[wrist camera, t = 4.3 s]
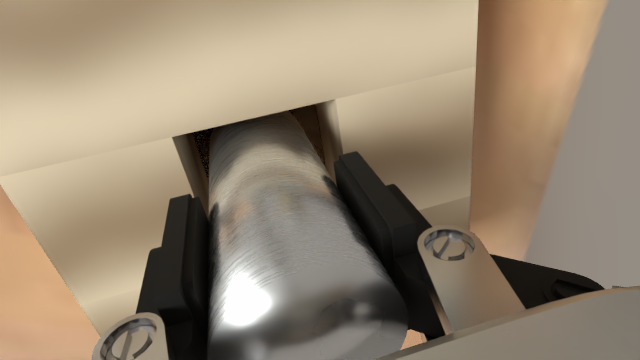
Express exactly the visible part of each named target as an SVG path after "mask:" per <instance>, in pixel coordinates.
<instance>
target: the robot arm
mask: <svg viewBox="0 0 640 360" xmlns="http://www.w3.org/2000/svg"><path fill="white" fill-rule="evenodd" d="M334 171H335V177H336V184H337V188H338V190H339V191H340V193H341V195H342V196H343V198H344V200H345V201H346V203H347V205H348V207H349V208H350V210H351V212H352V213H353V215H354V217H355V218H356V220H357V222H358V224H359V225H360V227H361V229H362V230H363V232H364V234H365V235H366V237H367V239H368V241H369V242H370V244H371V246H372V247H373V249H374V251H375V252H376V254H377V256H378V257H379V259H380V261H381V263H382V264H383V266H384V268H385V269H386V271H387V273H388V274H389V276H390V278H391V280H392V281H393V283H394V285H395V286H396V288H397V290H398V291H399V293H400V295H401V297H402V298H403V300H404V302H405V305H406V308H407V313H408V329H407V330H410V329H412V330H415V331H417V332H420V333H421V339H422V342H423V343H421V344H418V345H415V346H412V347H409V348H406V349H403V350H400V351H397V352H394V353H391V354H388V355H385V356H382V357H379V358H376V359H373V360H640V286H634V287H619V286H612V288H611V289H604V288H603V287H602V286H601V285H599V284H598V283H597V282H594V281H593V280H591V279H589V278H587V277H584V276H581V275H578V274H575V273H571V272H566V271H562V270H558V269H553V268H549V267H544V266H540V265H535V264H531V263H527V262H523V261H518V260H514V259H509V258H505V257H501V256H496V255H492V254H489V253H488V251H487V250H486V248H485V247H484V245H483V244H482V242H481V241H480V239H479V238H478V237H477V236H476V235H475V234H474V233H472V232H471V231H469V230H467V229H465V228H462V227H459V226H452V225H440V226H435V227H432V226H431V225H430V223H429V222H428V221H427V220H426V219H425V218H424V216H423V215H422V214H421V213H420V212H419V211H418V210H417V208H416V207H415V206H414V205H413V204H412V203H411V202H410V200H409V199H408V198H407V197H406V196H405V195H404V194H403V192H402V191H401V190H400V189H399V188H398V187H397V186H396V185H395V184H390V185H385V184H384V183H383V182H382V181H381V179H380V178H379V177H378V176H377V174H376V173H375V172H374V171H373V170H372V168H371V167H370V166H369V165H368V163H367V162H366V161H365V160H364V159H363V157H362V156H361V155H360V154H359V153H358V152H357V151H354V152H350V153H346V154H343V155H339V160H338V161H334ZM208 229H209V221H208V219H207V216H206V213H205V211H204V208H203V205H202V203H201V200H200V198H199V197H194V198H193V197H192V196H191V194H186V195H182V196H178V197H174V198H170V200H169V206H168V211H167V217H166V222H165V228H164V233H163V239H162V244H161V247H157V248H154V249H151V250H150V252H149V255H148V259H147V264H146V268H145V273H144V277H143V282H142V286H141V291H140V295H139V300H138V304H137V309H136V314H134V315H131V316H128V317H126V318H124V319H122V320H121V321H119V322H117V323H116V324H115V325H113V326H112V327H111V328H109V329H108V330H107V331H106V332H105V333H104V334H103V335H102V337H101V338H100V339H99V341H98V342H97V344H96V346H95V347H94V351H93V354H92V360H207V339H208Z"/></svg>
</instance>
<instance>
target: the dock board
mask: <svg viewBox="0 0 640 360" xmlns="http://www.w3.org/2000/svg"><path fill="white" fill-rule="evenodd" d="M478 1H479V0H0V185H1V186H2V188H3V189H4V191H5V192H6V194H7V195H8V197H9V198H10V200H11V201H12V203H13V204H14V206H15V207H16V209H17V210H18V212H19V214H20V215H21V217H22V218H23V220H24V221H25V223H26V224H27V226H28V227H29V229H30V230H31V232H32V233H33V235H34V236H35V238H36V239H37V241H38V242H39V244H40V245H41V247H42V249H43V250H44V252H45V253H46V255H47V256H48V258H49V259H50V261H51V262H52V264H53V265H54V267H55V268H56V270H57V271H58V273H59V274H60V276H61V277H62V279H63V281H64V282H65V284H66V285H67V287H68V288H69V290H70V291H71V293H72V294H73V296H74V297H75V299H76V300H77V302H78V303H79V305H80V306H81V308H82V309H83V311H84V313H85V314H86V316H87V317H88V319H89V320H90V322H91V323H92V325H93V326H94V328H95V329H96V331H97V332H98V334H99V335H100V337H102V335H103V334H104V333H105V332H106V331H107V330H108V329H109V328H111V327H112V326H113V325H115V324H116V323H117V322H119V321H121V320H122V319H124V318H126V317H128V316H131V315H134V314H136V309H137V304H138V300H139V295H140V291H141V286H142V282H143V277H144V273H145V268H146V264H147V259H148V255H149V252H150V250H151V249H154V248H157V247H161V244H162V239H163V233H164V228H165V222H166V217H167V211H168V206H169V200H170V198H174V197H178V196H182V195H186V194H191V196H192V197H193V198H194V197H199V198H200V200H201V203H202V205H203V208H204V211H205V213H206V216H207V219H208V221H209V182H208V179H207V176H206V173H205V170H204V167H203V164H202V161H201V159H200V156H199V153H198V150H197V147H196V144H195V141H194V138H193V135H192V133H191V132H196V131H200V130H204V129H209V128H213V127H217V126H222V125H226V124H230V123H234V122H239V121H243V120H247V119H252V118H256V117H260V116H265V115H269V114H273V113H278V112H282V111H286V110H290V109H295V108H299V107H303V106H308V105H312V104H315V105H316V110H317V116H318V122H319V128H320V134H321V140H322V146H323V152H324V158H325V164H326V169H327V171H328V173H329V174H330V176H331V178H332V179H333V181H334V183H335V184H336V177H335V171H334V161H338V160H339V155H343V154H346V153H350V152H354V151H357V152H358V153H359V154H360V155H361V156H362V157H363V159H364V160H365V161H366V162H367V163H368V165H369V166H370V167H371V168H372V170H373V171H374V172H375V173H376V174H377V176H378V177H379V178H380V179H381V181H382V182H383V183H384V184H385V185H390V184H395V185H396V186H397V187H398V188H399V189H400V190H401V191H402V192H403V194H404V195H405V196H406V197H407V198H408V199H409V200H410V202H411V203H412V204H413V205H414V206H415V207H416V208H417V210H418V211H419V212H420V213H421V214H422V215H423V216H424V218H425V219H426V220H427V221H428V222H429V223H430V225H431V226H432V227H435V226H440V225H452V226H459V227H462V228H465V229H467V230H469V221H470V197H471V172H472V148H473V123H474V99H475V74H476V50H477V25H478ZM336 186H337V184H336Z"/></svg>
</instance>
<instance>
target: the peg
mask: <svg viewBox="0 0 640 360" xmlns="http://www.w3.org/2000/svg"><path fill="white" fill-rule="evenodd" d="M407 329H408V313H407V308H406V305H405V302H404V300H403V298H402V297H401V295H400V293H399V291H398V290H397V288H396V286H395V285H394V283H393V281H392V280H391V278H390V276H389V274H388V273H387V271H386V269H385V268H384V266H383V264H382V263H381V261H380V259H379V257H378V256H377V254H376V252H375V251H374V249H373V247H372V246H371V244H370V242H369V241H368V239H367V237H366V235H365V234H364V232H363V230H362V229H361V227H360V225H359V224H358V222H357V220H356V218H355V217H354V215H353V213H352V212H351V210H350V208H349V207H348V205H347V203H346V201H345V200H344V198H343V196H342V195H341V193H340V191H339V190H338V188H337V186H336V184H335V183H334V181H333V179H332V178H331V176H330V174H329V173H328V171H327V169H326V167H325V166H324V164H323V162H322V161H321V159H320V157H319V156H318V154H317V152H316V150H315V149H314V147H313V145H312V144H311V142H310V140H309V139H308V137H307V135H306V134H305V132H304V130H303V128H302V127H301V125H300V123H299V122H298V120H297V119H296V118H295V117H294V116H293V115H292V114H291V113H290V112H288V111H287V110H286V111H282V112H278V113H273V114H269V115H265V116H260V117H256V118H252V119H247V120H243V121H239V122H234V123H230V124H226V125H222V126H217V127H214V129H213V131H212V134H211V137H210V143H209V229H208V339H207V360H373V359H376V358H379V357H382V356H385V355H388V354H391V353H394V352H397V351H400V349H401V347H402V345H403V342H404V340H405V337H406V334H407Z"/></svg>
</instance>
